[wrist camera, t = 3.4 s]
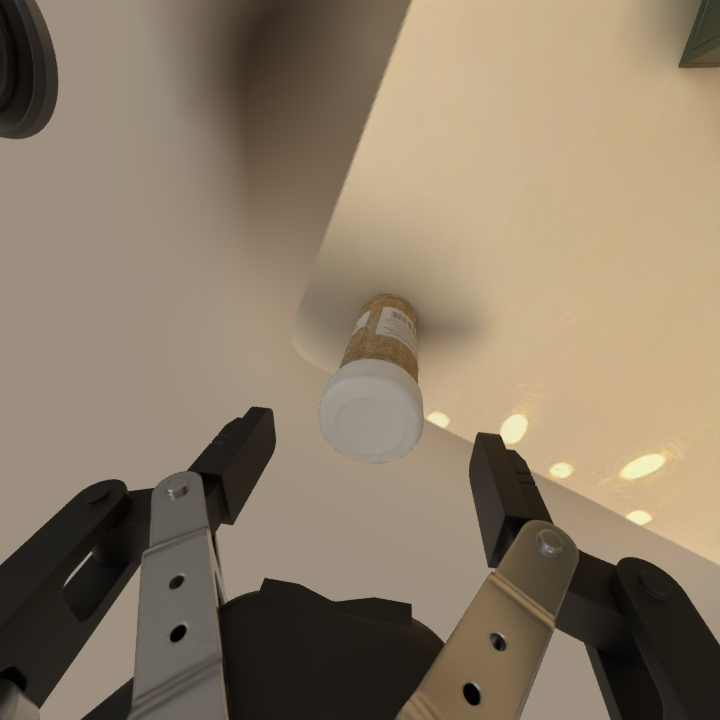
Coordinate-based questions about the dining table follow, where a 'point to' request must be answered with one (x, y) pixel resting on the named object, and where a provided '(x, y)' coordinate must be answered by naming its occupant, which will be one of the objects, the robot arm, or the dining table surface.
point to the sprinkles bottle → (376, 387)
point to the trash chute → (704, 38)
